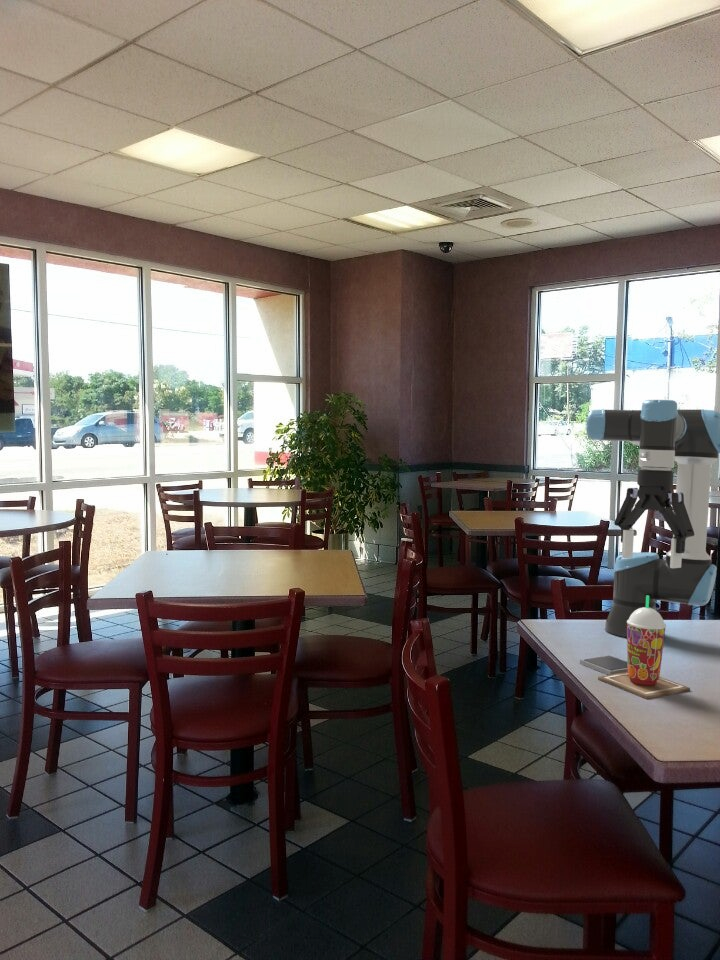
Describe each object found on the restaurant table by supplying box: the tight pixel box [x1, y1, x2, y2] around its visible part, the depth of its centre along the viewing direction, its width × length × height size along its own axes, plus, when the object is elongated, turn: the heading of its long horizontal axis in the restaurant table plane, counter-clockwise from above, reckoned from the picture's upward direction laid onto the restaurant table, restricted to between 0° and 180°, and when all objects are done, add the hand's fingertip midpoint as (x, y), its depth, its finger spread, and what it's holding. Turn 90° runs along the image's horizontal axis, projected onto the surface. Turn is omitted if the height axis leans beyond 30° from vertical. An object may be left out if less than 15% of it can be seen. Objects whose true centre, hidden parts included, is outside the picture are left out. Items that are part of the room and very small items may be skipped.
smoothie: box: [626, 595, 667, 686], centre depth 175 cm, size 8×8×20 cm
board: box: [597, 672, 691, 700], centre depth 176 cm, size 14×14×1 cm
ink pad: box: [579, 654, 628, 675], centre depth 189 cm, size 10×10×1 cm
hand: (650, 562), depth 174 cm, fingers open, 13 cm apart
